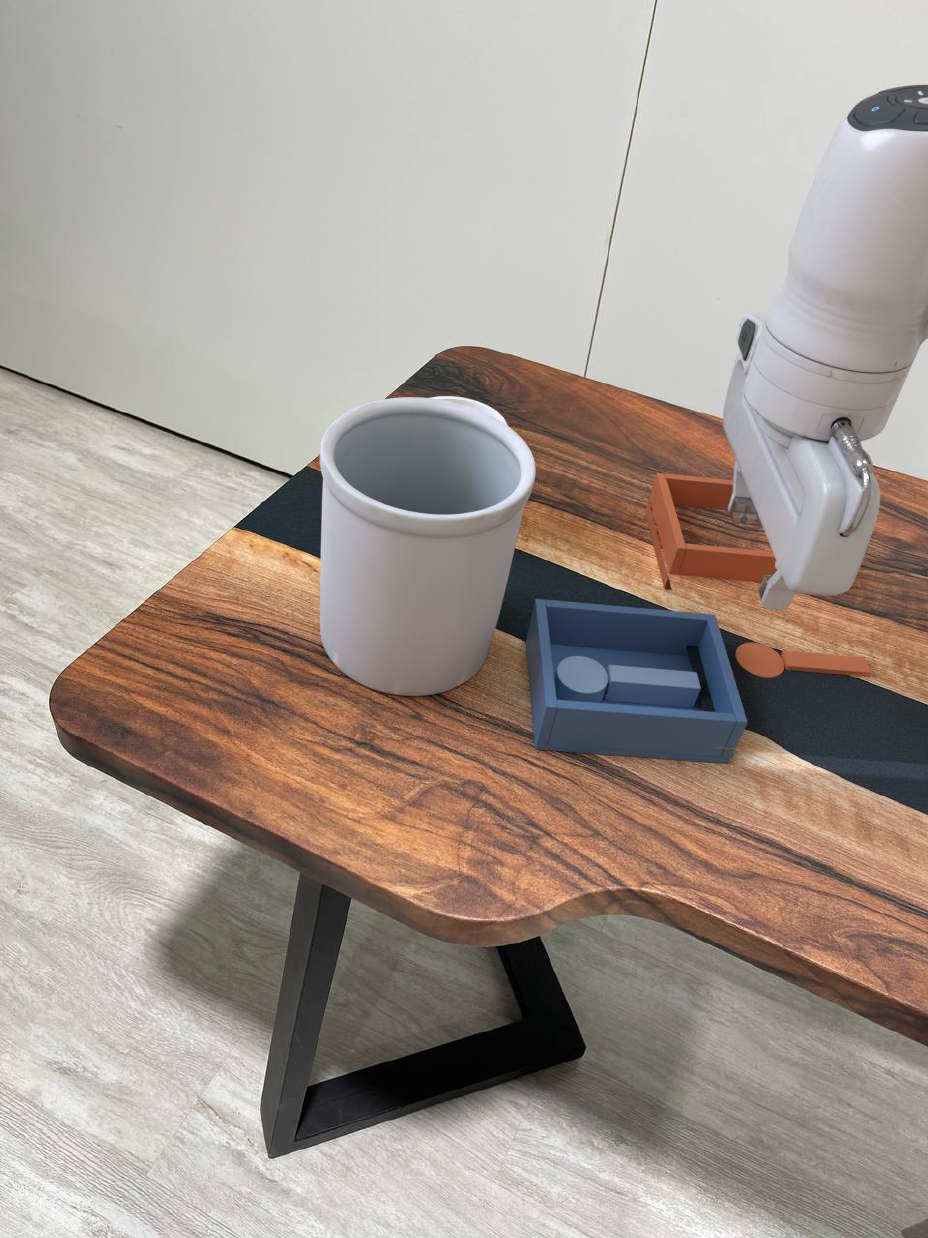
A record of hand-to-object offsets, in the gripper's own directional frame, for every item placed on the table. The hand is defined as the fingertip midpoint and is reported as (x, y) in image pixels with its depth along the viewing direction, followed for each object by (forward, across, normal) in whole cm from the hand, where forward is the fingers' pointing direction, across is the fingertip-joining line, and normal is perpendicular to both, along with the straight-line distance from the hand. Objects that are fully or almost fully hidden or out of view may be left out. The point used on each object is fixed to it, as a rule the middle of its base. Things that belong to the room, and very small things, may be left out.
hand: (755, 558), depth 71 cm
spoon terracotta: (+14, +3, -8) cm, 17 cm away
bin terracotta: (+14, +19, -6) cm, 25 cm away
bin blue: (+14, -1, +7) cm, 15 cm away
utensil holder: (+14, +4, +24) cm, 28 cm away
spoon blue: (+13, -1, +7) cm, 15 cm away
